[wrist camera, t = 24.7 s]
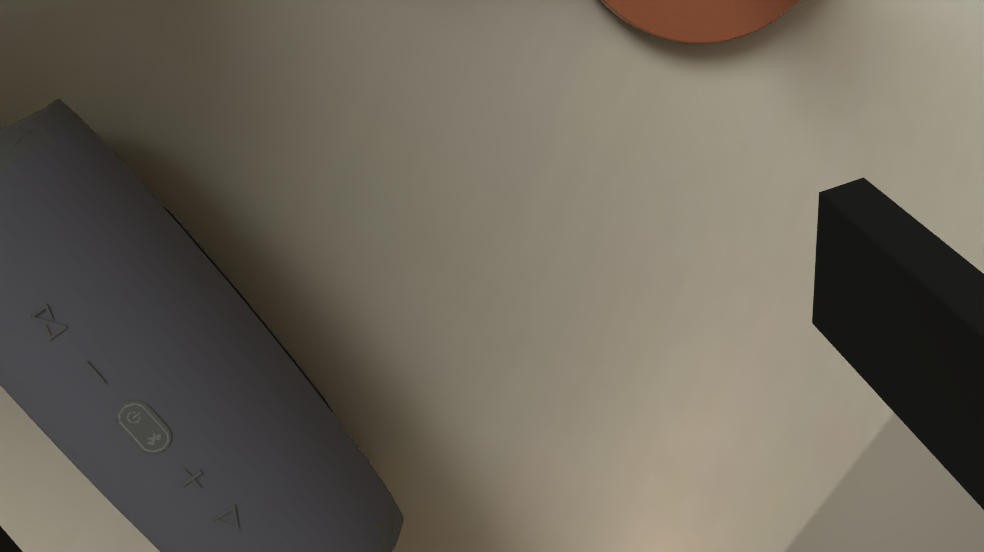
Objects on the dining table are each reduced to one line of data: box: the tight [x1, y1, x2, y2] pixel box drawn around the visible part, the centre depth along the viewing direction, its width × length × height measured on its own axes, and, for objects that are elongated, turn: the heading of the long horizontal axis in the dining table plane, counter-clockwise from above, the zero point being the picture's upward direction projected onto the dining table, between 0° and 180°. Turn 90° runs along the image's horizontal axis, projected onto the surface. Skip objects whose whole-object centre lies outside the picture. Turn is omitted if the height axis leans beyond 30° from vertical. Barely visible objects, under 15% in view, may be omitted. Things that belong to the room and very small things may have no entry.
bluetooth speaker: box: [0, 99, 403, 552], centre depth 38 cm, size 23×9×10 cm, turn 34°
